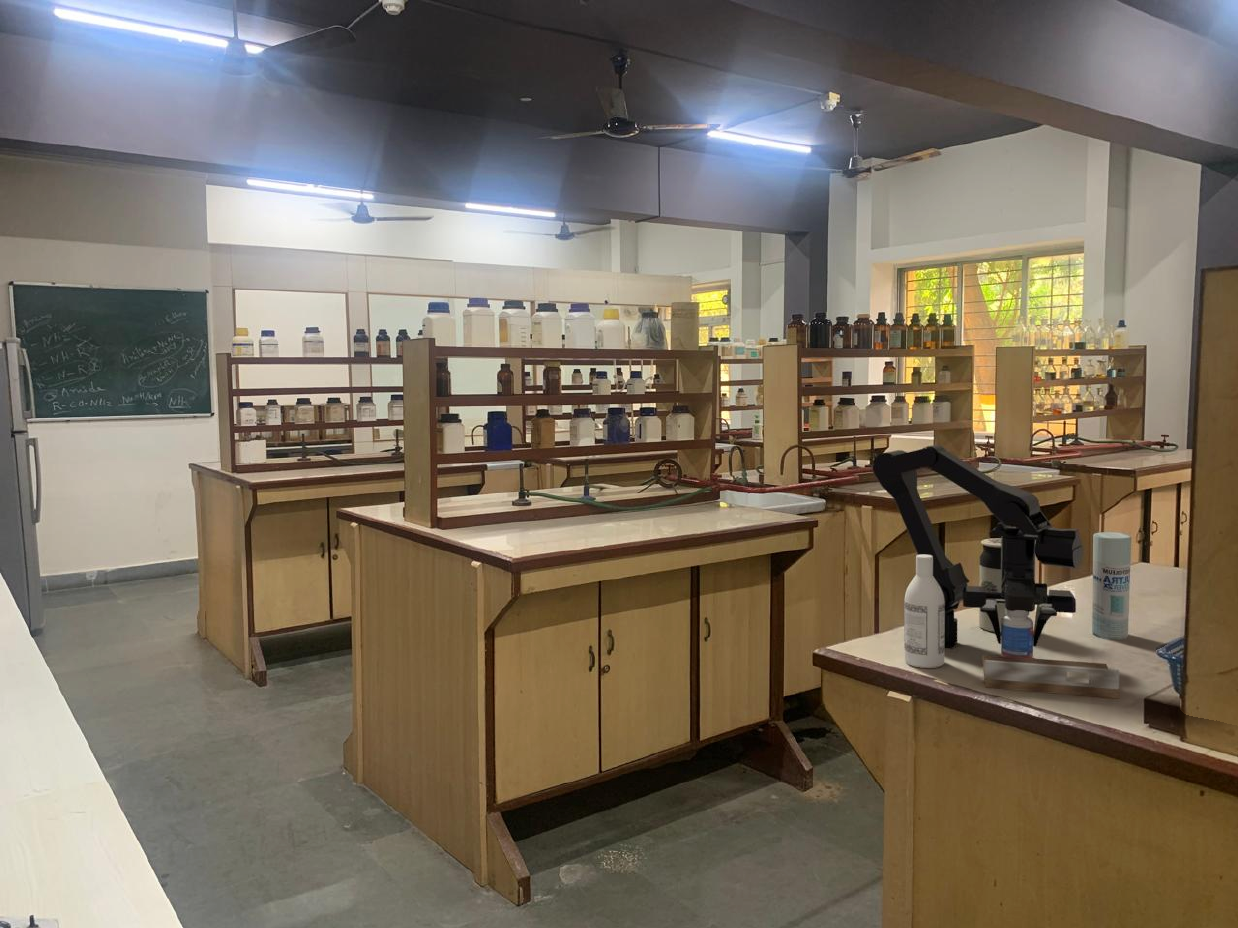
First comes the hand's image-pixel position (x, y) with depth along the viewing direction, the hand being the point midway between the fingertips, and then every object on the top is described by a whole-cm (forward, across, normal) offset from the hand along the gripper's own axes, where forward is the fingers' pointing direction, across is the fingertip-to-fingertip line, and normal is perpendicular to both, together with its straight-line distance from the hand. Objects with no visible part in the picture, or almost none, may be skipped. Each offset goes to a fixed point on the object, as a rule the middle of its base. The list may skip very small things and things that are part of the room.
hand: (1016, 644), depth 167 cm
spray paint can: (+3, +18, +19) cm, 26 cm away
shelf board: (+2, +4, -11) cm, 12 cm away
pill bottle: (+3, 0, 0) cm, 3 cm away
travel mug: (+3, -2, +19) cm, 19 cm away
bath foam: (+3, -16, -7) cm, 18 cm away
